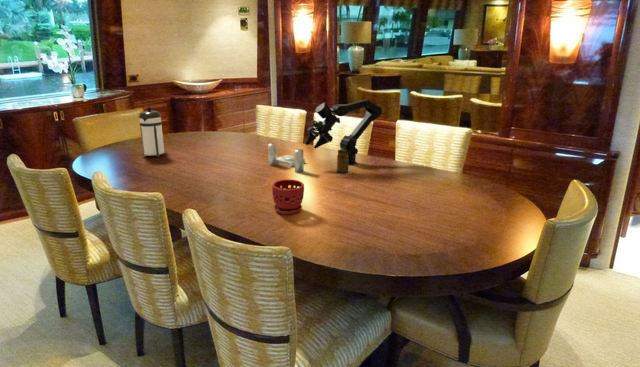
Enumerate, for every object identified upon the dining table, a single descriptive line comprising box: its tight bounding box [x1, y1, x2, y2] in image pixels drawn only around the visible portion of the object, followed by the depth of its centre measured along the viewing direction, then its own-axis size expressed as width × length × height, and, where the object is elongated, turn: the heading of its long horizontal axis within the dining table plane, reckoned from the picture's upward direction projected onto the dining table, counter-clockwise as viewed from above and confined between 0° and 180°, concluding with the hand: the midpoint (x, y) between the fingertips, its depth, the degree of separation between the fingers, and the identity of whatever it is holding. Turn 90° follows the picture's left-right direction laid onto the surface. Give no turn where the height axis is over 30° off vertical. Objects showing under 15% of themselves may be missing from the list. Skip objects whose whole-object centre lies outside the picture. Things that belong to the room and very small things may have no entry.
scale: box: [277, 154, 306, 168], centre depth 268 cm, size 14×12×3 cm
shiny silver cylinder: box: [293, 148, 305, 174], centre depth 249 cm, size 5×5×12 cm
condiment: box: [333, 148, 353, 175], centre depth 248 cm, size 7×8×12 cm
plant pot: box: [271, 179, 305, 215], centre depth 193 cm, size 13×13×12 cm
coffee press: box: [138, 106, 167, 159], centre depth 281 cm, size 17×16×30 cm
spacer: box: [267, 142, 278, 167], centre depth 263 cm, size 5×5×12 cm
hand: (310, 146), depth 251 cm, fingers open, 9 cm apart
